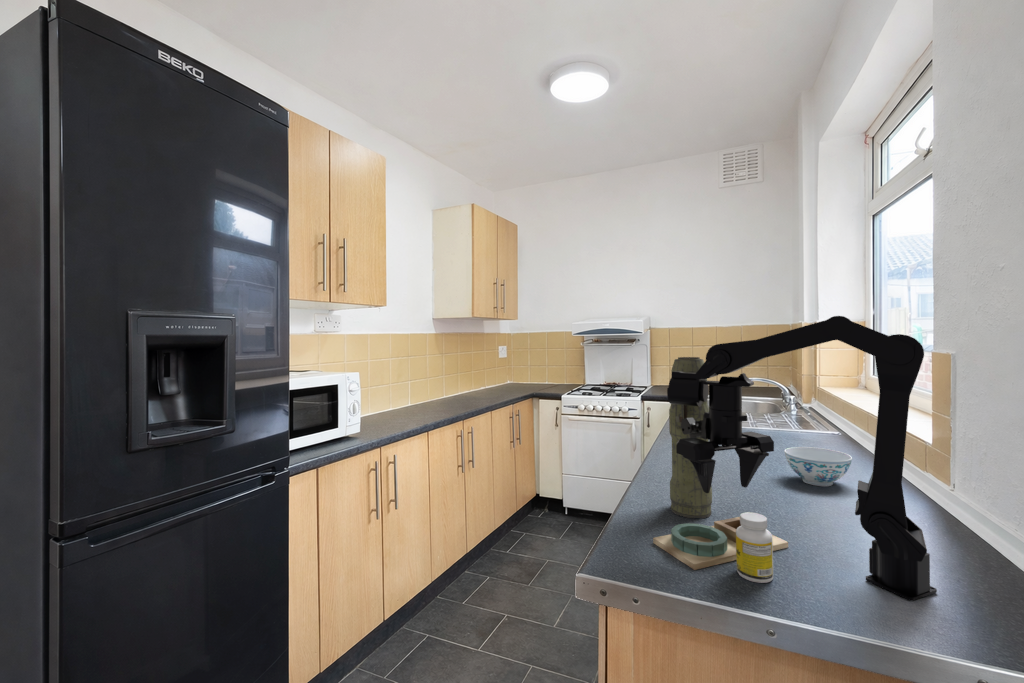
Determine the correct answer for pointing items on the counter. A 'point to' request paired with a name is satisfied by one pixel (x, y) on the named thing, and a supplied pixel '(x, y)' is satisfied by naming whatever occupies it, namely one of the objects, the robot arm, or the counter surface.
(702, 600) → the counter surface
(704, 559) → the socket board
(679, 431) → the thermos
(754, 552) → the supplement bottle
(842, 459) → the chinaware
